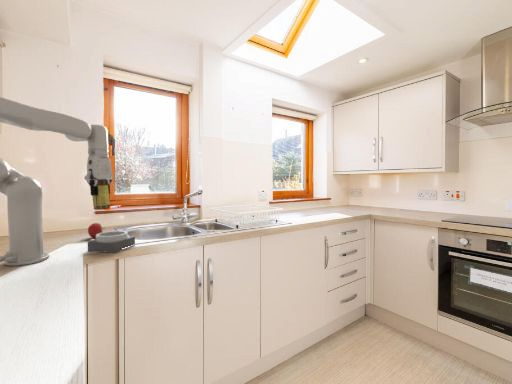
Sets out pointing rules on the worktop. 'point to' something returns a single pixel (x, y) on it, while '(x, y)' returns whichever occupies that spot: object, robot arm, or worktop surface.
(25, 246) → the robot arm
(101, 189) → the sauce bottle
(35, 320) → the worktop surface
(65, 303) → the worktop surface
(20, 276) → the worktop surface
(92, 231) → the tomato
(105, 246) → the mount
